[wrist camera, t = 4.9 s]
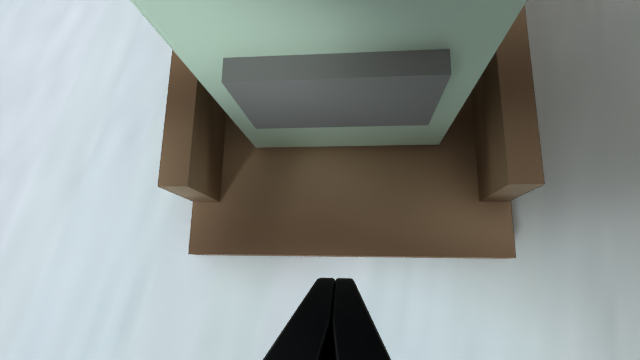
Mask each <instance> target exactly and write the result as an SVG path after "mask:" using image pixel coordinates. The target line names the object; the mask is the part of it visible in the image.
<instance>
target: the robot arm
mask: <svg viewBox="0 0 640 360" xmlns="http://www.w3.org/2000/svg"><path fill="white" fill-rule="evenodd" d="M263 360H391V359H390V356H389V354H388V352H387V350H386V348H385V346H384V344H383V342H382V339H381V337H380V335H379V333H378V331H377V329H376V327H375V325H374V322H373V320H372V318H371V316H370V314H369V312H368V310H367V308H366V306H365V303H364V301H363V299H362V297H361V295H360V293H359V291H358V289H357V286H356V284H355V282H354V281H353V279H350V278H337V279H336V281H335V279H333V278H319V279H317V280H316V282H315V283H314V285H313V286H312V288H311V289H310V291H309V292H308V294H307V295H306V297H305V298H304V300H303V301H302V302H301V304H300V305H299V307H298V308H297V310H296V311H295V313H294V314H293V316H292V317H291V319H290V320H289V322H288V323H287V325H286V326H285V328H284V329H283V331H282V332H281V334H280V335H279V336H278V338H277V339H276V341H275V342H274V344H273V345H272V347H271V348H270V350H269V351H268V353H267V354H266V356H265V357H264V359H263Z"/></svg>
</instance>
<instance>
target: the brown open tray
mask: <svg viewBox="0 0 640 360" xmlns="http://www.w3.org/2000/svg"><path fill="white" fill-rule="evenodd" d="M544 184H545V183H544V174H543V165H542V156H541V147H540V138H539V129H538V120H537V111H536V103H535V94H534V85H533V76H532V67H531V58H530V49H529V40H528V31H527V22H526V14H525V5H524V6H523V8H522V9H521V11H520V13H519V14H518V16H517V17H516V19H515V21H514V22H513V24H512V26H511V27H510V29H509V31H508V32H507V34H506V36H505V37H504V39H503V40H502V42H501V44H500V45H499V47H498V49H497V50H496V52H495V54H494V55H493V57H492V58H491V60H490V62H489V63H488V65H487V67H486V68H485V70H484V72H483V73H482V75H481V76H480V78H479V80H478V81H477V83H476V85H475V86H474V88H473V90H472V91H471V93H470V95H469V96H468V98H467V99H466V101H465V103H464V104H463V106H462V108H461V109H460V111H459V113H458V114H457V116H456V117H455V119H454V121H453V122H452V124H451V126H450V127H449V129H448V131H447V132H446V134H445V135H444V137H443V139H442V140H441V142H440V144H439V145H389V146H326V147H264V148H256V147H255V146H254V145H253V144H252V143H251V141H250V140H249V139H248V138H247V137H246V136H245V134H244V133H243V132H242V131H241V130H240V128H239V127H238V126H237V125H236V124H235V123H234V121H233V120H232V119H231V118H230V117H229V116H228V114H227V113H226V112H225V111H224V110H223V108H222V107H221V106H220V105H219V104H218V103H217V101H216V100H215V99H214V98H213V97H212V96H211V94H210V93H209V92H208V91H207V90H206V88H205V87H204V86H203V85H202V84H201V83H200V81H199V80H198V79H197V78H196V77H195V76H194V74H193V73H192V72H191V71H190V70H189V68H188V67H187V66H186V65H185V64H184V63H183V61H182V60H181V59H180V58H179V57H178V56H177V54H176V53H175V52H174V51H173V50H172V58H171V67H170V77H169V86H168V95H167V104H166V114H165V123H164V132H163V141H162V151H161V160H160V169H159V178H158V187H160V188H162V189H165V190H167V191H170V192H172V193H174V194H177V195H179V196H181V197H184V198H186V199H189V200H191V201H193V207H192V218H191V230H190V241H189V253H188V254H194V255H242V256H326V257H409V258H493V259H508V258H516V253H515V242H514V231H513V220H512V209H511V200H513V199H515V198H517V197H519V196H521V195H523V194H525V193H527V192H529V191H531V190H534V189H536V188H538V187H540V186H542V185H544Z"/></svg>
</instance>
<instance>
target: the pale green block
mask: <svg viewBox="0 0 640 360" xmlns="http://www.w3.org/2000/svg"><path fill="white" fill-rule="evenodd" d="M131 1H132V3H133V4H134V5H135V6H136V7H137V8H138V10H139V11H140V12H141V13H142V14H143V16H144V17H145V18H146V19H147V20H148V21H149V23H150V24H151V25H152V26H153V27H154V28H155V30H156V31H157V32H158V33H159V34H160V36H161V37H162V38H163V39H164V40H165V41H166V43H167V44H168V45H169V46H170V47H171V48H172V50H173V51H174V52H175V53H176V54H177V56H178V57H179V58H180V59H181V60H182V61H183V63H184V64H185V65H186V66H187V67H188V68H189V70H190V71H191V72H192V73H193V74H194V76H195V77H196V78H197V79H198V80H199V81H200V83H201V84H202V85H203V86H204V87H205V88H206V90H207V91H208V92H209V93H210V94H211V96H212V97H213V98H214V99H215V100H216V101H217V103H218V104H219V105H220V106H221V107H222V108H223V110H224V111H225V112H226V113H227V114H228V116H229V117H230V118H231V119H232V120H233V121H234V123H235V124H236V125H237V126H238V127H239V128H240V130H241V131H242V132H243V133H244V134H245V136H246V137H247V138H248V139H249V140H250V141H251V143H252V144H253V145H254V146H255V147H256V148H264V147H326V146H389V145H439V144H440V142H441V140H442V139H443V137H444V135H445V134H446V132H447V131H448V129H449V127H450V126H451V124H452V122H453V121H454V119H455V117H456V116H457V114H458V113H459V111H460V109H461V108H462V106H463V104H464V103H465V101H466V99H467V98H468V96H469V95H470V93H471V91H472V90H473V88H474V86H475V85H476V83H477V81H478V80H479V78H480V76H481V75H482V73H483V72H484V70H485V68H486V67H487V65H488V63H489V62H490V60H491V58H492V57H493V55H494V54H495V52H496V50H497V49H498V47H499V45H500V44H501V42H502V40H503V39H504V37H505V36H506V34H507V32H508V31H509V29H510V27H511V26H512V24H513V22H514V21H515V19H516V17H517V16H518V14H519V13H520V11H521V9H522V8H523V6H524V4H525V3H526V1H527V0H131Z"/></svg>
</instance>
